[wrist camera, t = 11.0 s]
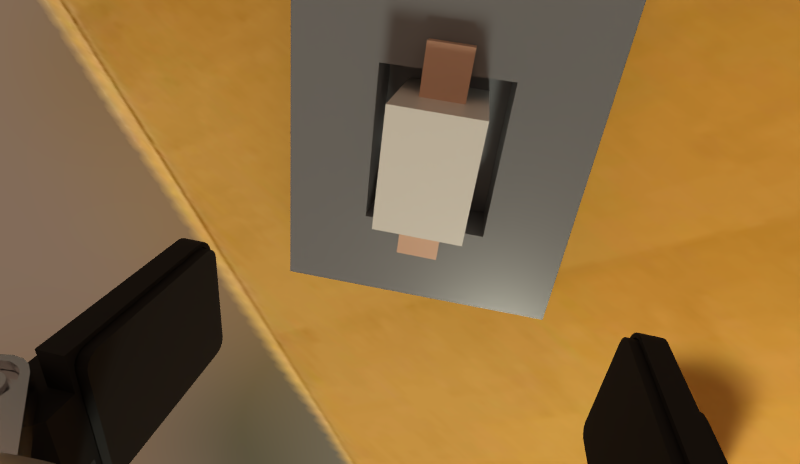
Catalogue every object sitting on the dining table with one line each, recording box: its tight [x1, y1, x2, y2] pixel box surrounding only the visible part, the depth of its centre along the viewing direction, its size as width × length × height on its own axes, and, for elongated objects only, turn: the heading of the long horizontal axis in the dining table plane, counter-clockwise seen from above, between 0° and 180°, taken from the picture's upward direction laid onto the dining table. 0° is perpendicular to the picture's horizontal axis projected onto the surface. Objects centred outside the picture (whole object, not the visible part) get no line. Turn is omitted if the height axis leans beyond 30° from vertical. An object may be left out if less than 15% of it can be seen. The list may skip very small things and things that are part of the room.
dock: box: [290, 0, 646, 320], centre depth 24 cm, size 14×16×4 cm
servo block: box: [372, 38, 489, 260], centre depth 22 cm, size 4×10×6 cm, turn 173°
